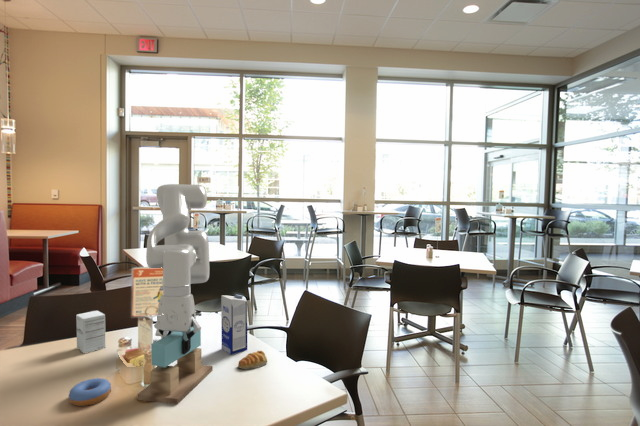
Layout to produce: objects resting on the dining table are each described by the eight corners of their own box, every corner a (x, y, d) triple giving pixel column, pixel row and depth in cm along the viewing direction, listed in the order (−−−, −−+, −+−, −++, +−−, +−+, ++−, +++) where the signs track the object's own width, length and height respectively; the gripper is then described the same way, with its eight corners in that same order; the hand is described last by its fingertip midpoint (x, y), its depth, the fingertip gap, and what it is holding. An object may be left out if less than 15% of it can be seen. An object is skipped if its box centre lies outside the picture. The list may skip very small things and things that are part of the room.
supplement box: (76, 348, 137) (75, 314, 136) (98, 342, 143) (98, 309, 142) (83, 354, 132) (82, 318, 132) (106, 348, 138) (105, 313, 137)
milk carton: (221, 348, 138) (221, 294, 137) (237, 344, 142) (237, 291, 141) (231, 355, 133) (230, 298, 132) (247, 349, 137) (247, 295, 136)
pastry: (245, 373, 120) (245, 361, 120) (233, 366, 124) (233, 355, 124) (269, 364, 126) (269, 352, 126) (257, 358, 131) (257, 347, 131)
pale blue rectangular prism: (151, 364, 105) (151, 343, 105) (188, 343, 120) (188, 324, 120) (164, 367, 103) (164, 345, 103) (200, 345, 119) (200, 326, 118)
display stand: (137, 399, 104) (137, 372, 103) (178, 367, 123) (178, 344, 123) (177, 404, 101) (177, 377, 101) (212, 370, 121) (212, 347, 120)
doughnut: (84, 387, 110) (84, 372, 109) (118, 389, 109) (118, 375, 109) (60, 409, 100) (59, 393, 99) (97, 412, 100) (96, 396, 99)
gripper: (142, 292, 109) (143, 354, 110) (197, 295, 106) (197, 359, 106) (158, 286, 116) (159, 344, 117) (209, 289, 113) (210, 349, 114)
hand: (177, 350), depth 112 cm, fingers closed on pale blue rectangular prism, 4 cm apart
